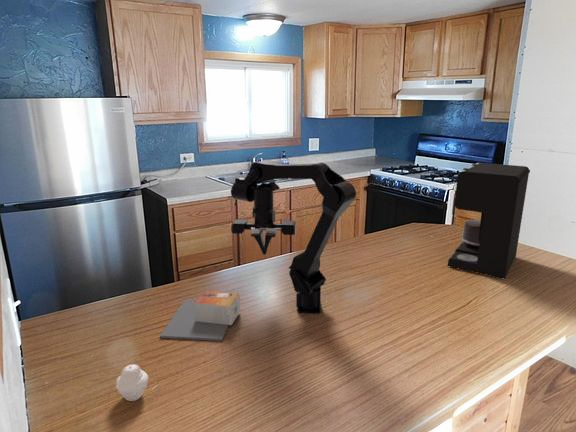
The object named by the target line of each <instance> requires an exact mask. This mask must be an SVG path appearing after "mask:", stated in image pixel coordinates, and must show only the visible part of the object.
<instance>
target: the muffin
mask: <svg viewBox="0 0 576 432" xmlns="http://www.w3.org/2000/svg"><path fill="white" fill-rule="evenodd" d="M115 381H116V382H115V387H116V390H117V391H118V393H119V394H120V395H121V396H122V397H123V398H124V399H125V400H126V401H128V402H135V401H137V400H139V399H141V398H142V396H143V394H144V392H145V390H146V388H147V386H148V383H149V376H148V374H147V372H145V371H144V370H142V369H141V367H140V366H139V365H138V364H128V365H127V366H125V367H123V369H122V370H121V374H120V375H119V376H118V377H117V379H116V380H115Z"/></svg>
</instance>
